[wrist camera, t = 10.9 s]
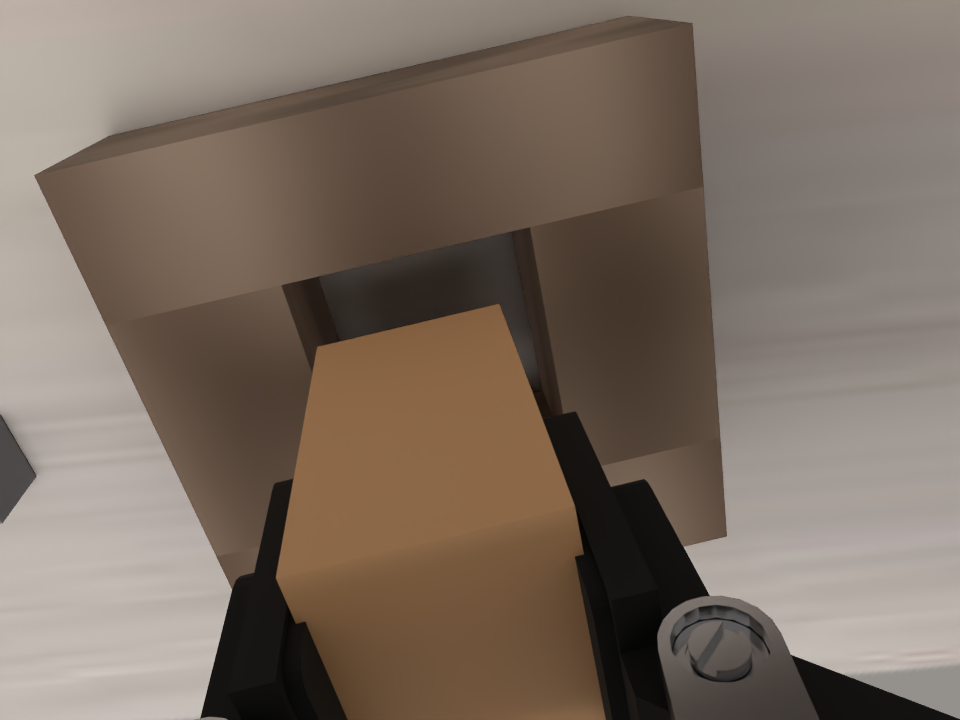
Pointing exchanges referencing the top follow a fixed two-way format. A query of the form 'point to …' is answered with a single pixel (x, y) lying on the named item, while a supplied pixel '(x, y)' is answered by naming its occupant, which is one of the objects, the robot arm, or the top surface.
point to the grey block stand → (12, 472)
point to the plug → (437, 532)
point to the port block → (410, 230)
